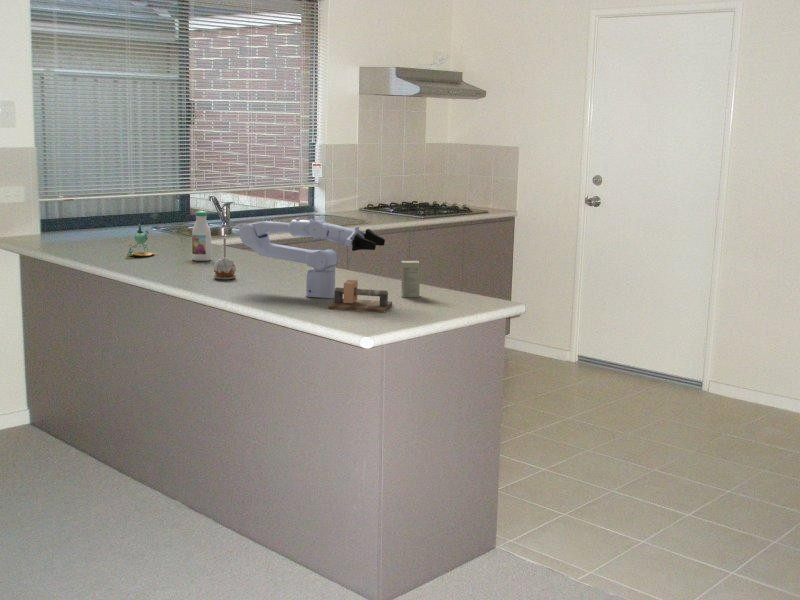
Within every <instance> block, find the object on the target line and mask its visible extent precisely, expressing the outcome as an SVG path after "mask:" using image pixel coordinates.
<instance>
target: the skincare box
mask: <svg viewBox="0 0 800 600" xmlns="http://www.w3.org/2000/svg"><path fill="white" fill-rule="evenodd" d="M420 264H421V263H420V261H419V260H401V298H420V290H421V289H420V288H421V287H420V275H421V274H420V273H421V272H420V267H421V266H420Z"/></svg>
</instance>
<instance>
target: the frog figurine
mask: <svg viewBox="0 0 800 600" xmlns="http://www.w3.org/2000/svg"><path fill="white" fill-rule="evenodd" d="M137 226H138V230H137V233H136V234H135V235H134V240H135V243H136V244H135V245H132V244H129V245H128V246H127V247H128V248H129V250H128V251H127V252H126V253H125V255H126V256H125V258H124V259H125V260H132V259H134V258H135V257H134V256H138V257H150V256H155V255H157V253H155V252H151V251H150V250H149V249H148V247H147V245H146V244H145V243H146V242H147V240H148V235H149V231H148V230H146V231H145V233H144V231H143V230H142V228H141V227H142V226H141V223H138V224H137ZM138 244H139V248H142V247H143V250H144V251H137V252H134V250H133V249H136V248H137V247H138ZM130 246H131V247H130ZM146 250H147V251H146ZM131 256H133V257H131Z"/></svg>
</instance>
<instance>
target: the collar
mask: <svg viewBox="0 0 800 600" xmlns="http://www.w3.org/2000/svg"><path fill="white" fill-rule="evenodd" d="M343 288H344V294H343V299H344V303H354V302H355V301H356V300H357V299H358V295H354V289H359V288H358V280H356V279H348V280H347V281H344V283H343Z"/></svg>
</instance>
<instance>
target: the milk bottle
mask: <svg viewBox="0 0 800 600" xmlns="http://www.w3.org/2000/svg"><path fill="white" fill-rule="evenodd" d="M207 218H208V213H207V211H202V210H201V211H195V222H194V225H193V227H192V232H191V250H192V251H191V257H192V261H196V262H205V261H206V262H207V261H208V262H209V261H210V260H212V234H211V227H210V226H209V223H208V220H207Z"/></svg>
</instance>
